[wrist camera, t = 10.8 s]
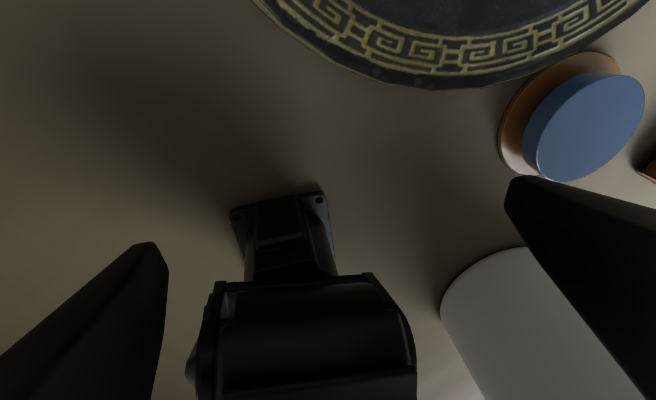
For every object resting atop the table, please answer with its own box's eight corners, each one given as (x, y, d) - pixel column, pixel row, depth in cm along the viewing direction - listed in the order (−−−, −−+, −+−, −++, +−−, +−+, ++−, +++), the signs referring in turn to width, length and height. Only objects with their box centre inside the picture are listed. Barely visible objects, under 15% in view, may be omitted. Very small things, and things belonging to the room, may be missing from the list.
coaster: (589, 160, 25) (594, 163, 25) (487, 182, 24) (490, 185, 24) (638, 40, 20) (644, 41, 20) (512, 63, 19) (516, 64, 19)
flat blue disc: (587, 156, 24) (617, 171, 22) (502, 174, 24) (524, 191, 22) (627, 57, 20) (667, 65, 18) (524, 76, 19) (554, 86, 18)
